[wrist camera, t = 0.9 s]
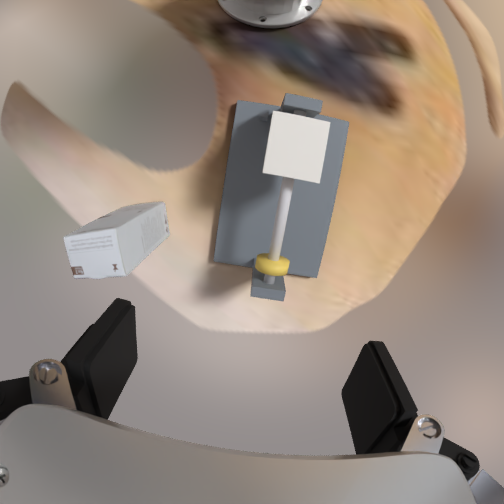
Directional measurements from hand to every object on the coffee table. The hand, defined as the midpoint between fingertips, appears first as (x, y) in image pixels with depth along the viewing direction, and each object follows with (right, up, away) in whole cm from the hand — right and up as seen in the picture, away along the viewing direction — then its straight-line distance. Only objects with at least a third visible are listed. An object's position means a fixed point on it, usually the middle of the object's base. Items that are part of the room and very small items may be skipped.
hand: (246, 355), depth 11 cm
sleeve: (+4, +13, +15) cm, 20 cm away
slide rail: (+3, +11, +20) cm, 23 cm away
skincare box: (-12, +8, +22) cm, 27 cm away
